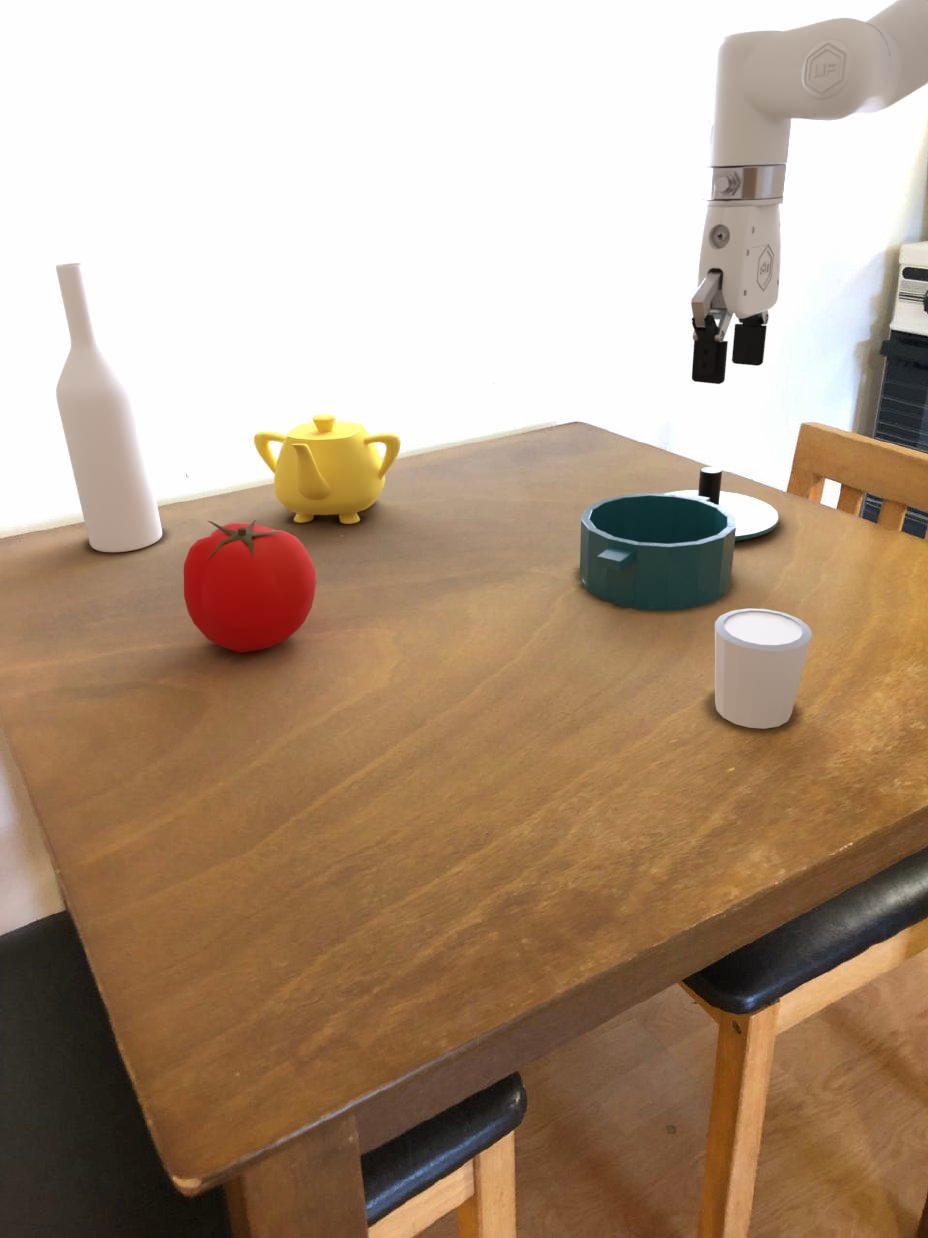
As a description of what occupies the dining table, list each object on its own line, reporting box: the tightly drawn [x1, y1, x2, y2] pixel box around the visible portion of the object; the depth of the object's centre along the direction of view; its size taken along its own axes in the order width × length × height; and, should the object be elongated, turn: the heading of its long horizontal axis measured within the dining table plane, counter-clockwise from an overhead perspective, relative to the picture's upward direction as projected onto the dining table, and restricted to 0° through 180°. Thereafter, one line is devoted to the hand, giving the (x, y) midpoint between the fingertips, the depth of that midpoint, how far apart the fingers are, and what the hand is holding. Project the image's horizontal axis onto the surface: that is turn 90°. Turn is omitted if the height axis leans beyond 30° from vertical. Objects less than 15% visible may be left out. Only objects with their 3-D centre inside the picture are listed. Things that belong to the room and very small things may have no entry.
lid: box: [664, 466, 780, 541], centre depth 106 cm, size 16×16×6 cm
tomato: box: [183, 519, 317, 654], centre depth 82 cm, size 12×12×11 cm
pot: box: [579, 492, 736, 612], centre depth 92 cm, size 15×20×6 cm
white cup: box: [714, 607, 813, 730], centre depth 70 cm, size 7×7×7 cm
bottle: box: [55, 262, 163, 553], centre depth 101 cm, size 8×8×30 cm
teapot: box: [253, 413, 401, 525], centre depth 112 cm, size 14×14×12 cm
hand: (728, 372), depth 95 cm, fingers open, 9 cm apart
